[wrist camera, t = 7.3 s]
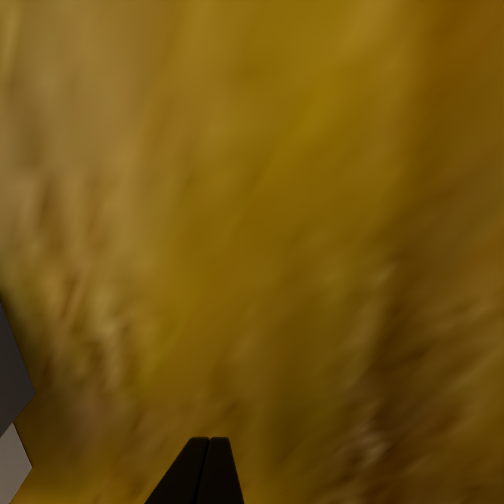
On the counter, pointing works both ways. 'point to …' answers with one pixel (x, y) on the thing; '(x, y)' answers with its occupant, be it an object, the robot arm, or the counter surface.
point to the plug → (11, 377)
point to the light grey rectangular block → (12, 465)
